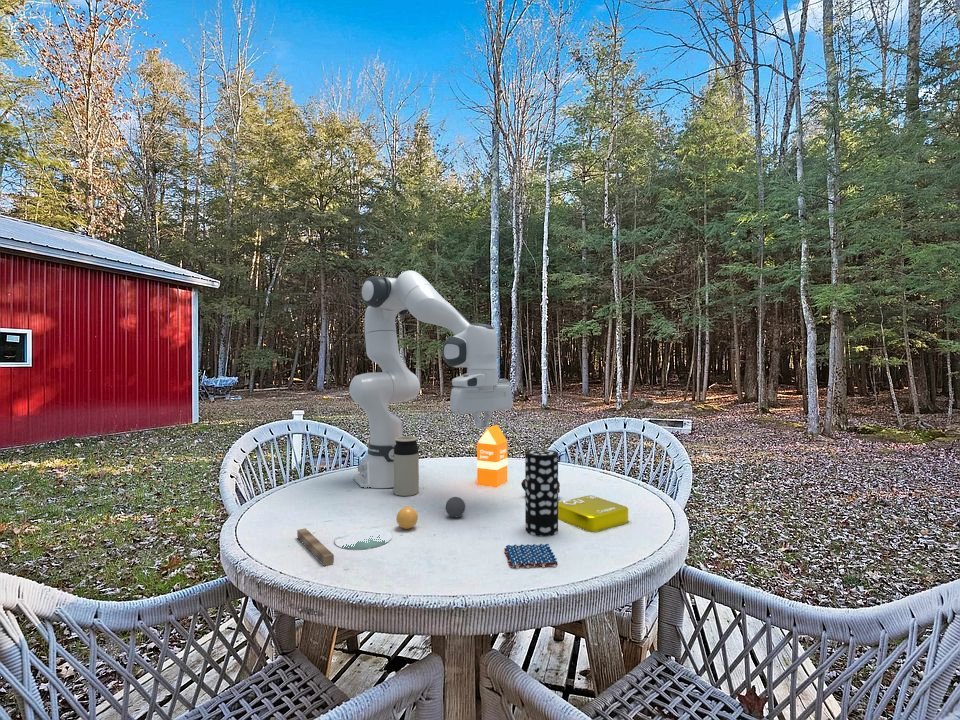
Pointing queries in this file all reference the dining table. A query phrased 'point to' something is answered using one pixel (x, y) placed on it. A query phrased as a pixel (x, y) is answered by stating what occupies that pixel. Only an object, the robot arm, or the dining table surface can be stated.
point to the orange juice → (492, 458)
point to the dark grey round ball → (455, 507)
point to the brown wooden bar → (315, 547)
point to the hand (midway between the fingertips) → (482, 427)
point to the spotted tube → (541, 492)
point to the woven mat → (530, 556)
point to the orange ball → (407, 517)
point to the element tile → (592, 513)
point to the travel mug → (406, 466)
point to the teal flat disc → (366, 544)
